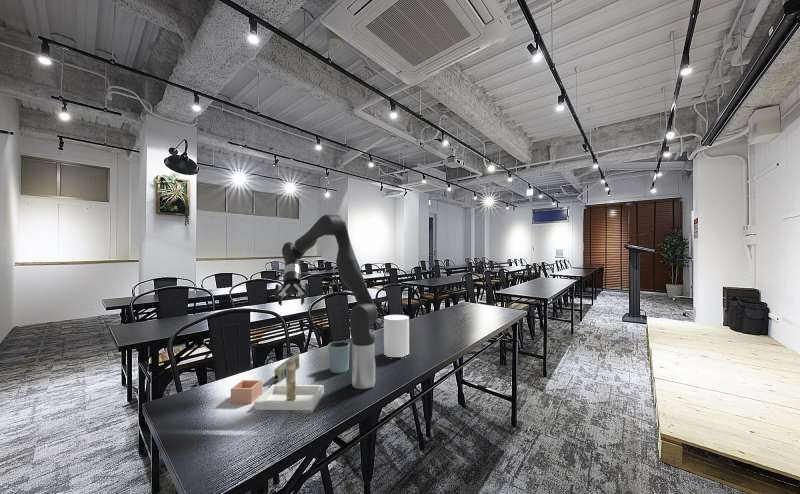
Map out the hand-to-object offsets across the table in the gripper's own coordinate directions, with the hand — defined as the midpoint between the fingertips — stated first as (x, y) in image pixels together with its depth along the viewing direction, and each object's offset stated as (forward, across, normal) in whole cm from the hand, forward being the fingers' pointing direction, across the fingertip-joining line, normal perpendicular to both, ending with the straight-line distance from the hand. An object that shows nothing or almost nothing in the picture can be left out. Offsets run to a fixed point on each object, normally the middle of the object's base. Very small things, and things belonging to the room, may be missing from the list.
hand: (291, 304), depth 129 cm
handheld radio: (+20, -3, +27) cm, 34 cm away
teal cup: (+19, +21, +28) cm, 40 cm away
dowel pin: (+37, +1, +8) cm, 38 cm away
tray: (+37, +1, +9) cm, 38 cm away
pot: (+33, -15, +14) cm, 38 cm away
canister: (+10, +53, +36) cm, 65 cm away
